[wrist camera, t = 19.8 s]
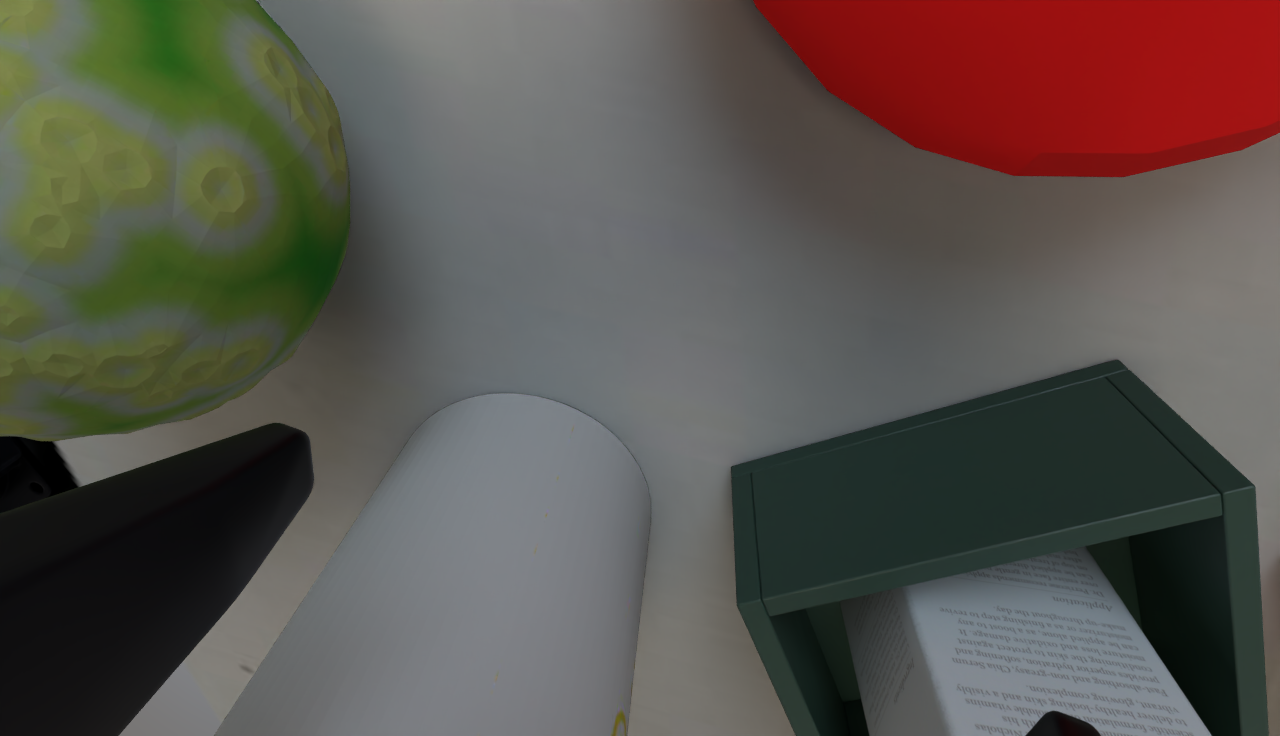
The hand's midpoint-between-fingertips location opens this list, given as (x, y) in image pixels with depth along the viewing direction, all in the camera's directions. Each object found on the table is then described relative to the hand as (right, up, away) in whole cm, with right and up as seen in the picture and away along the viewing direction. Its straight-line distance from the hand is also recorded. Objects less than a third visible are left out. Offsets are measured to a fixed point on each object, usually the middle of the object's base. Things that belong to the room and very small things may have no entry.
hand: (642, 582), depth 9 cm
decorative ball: (-10, +8, +10) cm, 17 cm away
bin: (+10, -3, +14) cm, 17 cm away
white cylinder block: (-4, -2, +15) cm, 16 cm away
